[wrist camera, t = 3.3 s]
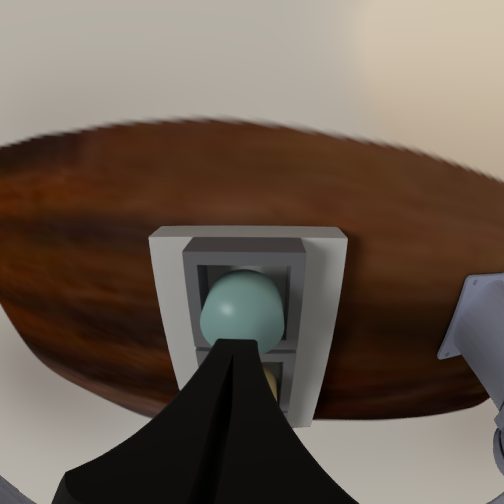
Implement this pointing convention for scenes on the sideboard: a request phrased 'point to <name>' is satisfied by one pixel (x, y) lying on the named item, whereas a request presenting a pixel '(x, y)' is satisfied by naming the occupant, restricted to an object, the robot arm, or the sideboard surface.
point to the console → (280, 272)
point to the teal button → (244, 309)
